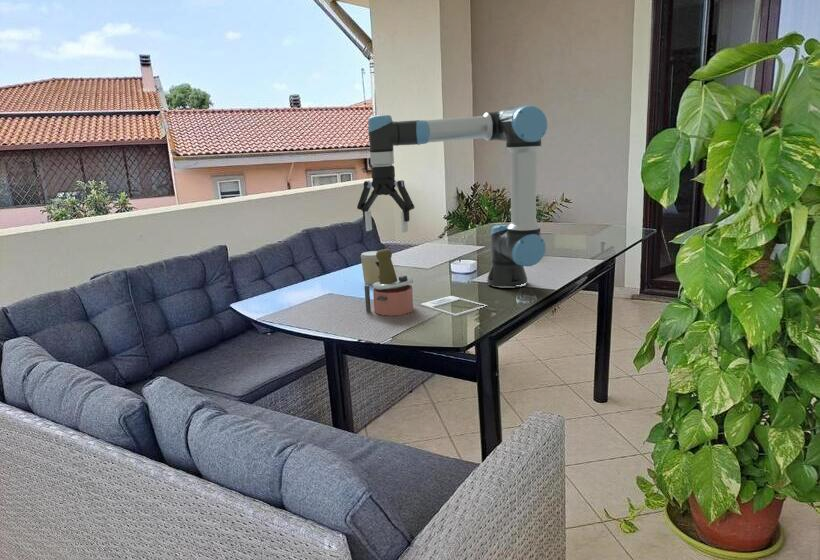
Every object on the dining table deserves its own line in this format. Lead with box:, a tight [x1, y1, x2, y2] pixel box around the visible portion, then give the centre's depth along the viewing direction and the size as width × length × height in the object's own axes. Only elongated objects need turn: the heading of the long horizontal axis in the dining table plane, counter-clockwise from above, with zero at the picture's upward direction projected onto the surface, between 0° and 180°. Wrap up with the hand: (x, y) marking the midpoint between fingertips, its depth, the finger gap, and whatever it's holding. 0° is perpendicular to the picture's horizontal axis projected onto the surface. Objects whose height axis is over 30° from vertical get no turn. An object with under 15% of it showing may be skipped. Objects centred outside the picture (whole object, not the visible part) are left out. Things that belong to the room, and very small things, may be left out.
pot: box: [364, 279, 414, 317], centre depth 193 cm, size 14×16×9 cm
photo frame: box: [419, 295, 488, 317], centre depth 195 cm, size 15×1×18 cm
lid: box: [372, 275, 414, 290], centre depth 191 cm, size 14×14×2 cm
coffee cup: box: [360, 250, 380, 286], centre depth 231 cm, size 9×9×12 cm
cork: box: [376, 248, 397, 284], centre depth 191 cm, size 6×6×11 cm
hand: (386, 231), depth 188 cm, fingers open, 13 cm apart
